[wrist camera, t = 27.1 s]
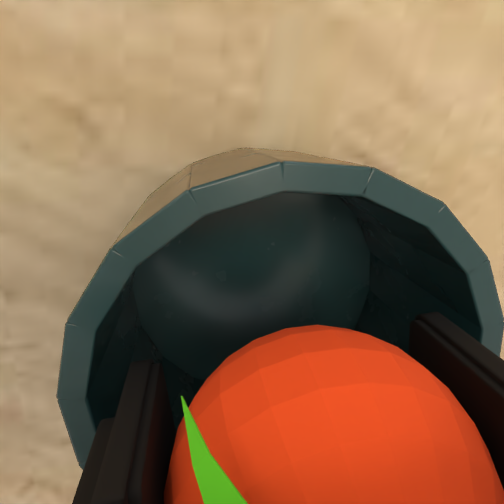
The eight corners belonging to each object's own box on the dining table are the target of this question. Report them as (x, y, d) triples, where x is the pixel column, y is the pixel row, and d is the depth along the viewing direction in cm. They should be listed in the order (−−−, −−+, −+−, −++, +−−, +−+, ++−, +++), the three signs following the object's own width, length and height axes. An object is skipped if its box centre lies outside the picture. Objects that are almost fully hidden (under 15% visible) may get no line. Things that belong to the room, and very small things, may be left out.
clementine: (93, 364, 10) (-96, 800, 4) (283, 201, 10) (486, 363, 3) (270, 499, 13) (351, 896, 6) (428, 379, 12) (709, 678, 6)
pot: (148, 412, 18) (118, 588, 11) (90, 163, 14) (-14, 194, 7) (376, 371, 20) (479, 506, 12) (380, 132, 16) (533, 132, 9)
